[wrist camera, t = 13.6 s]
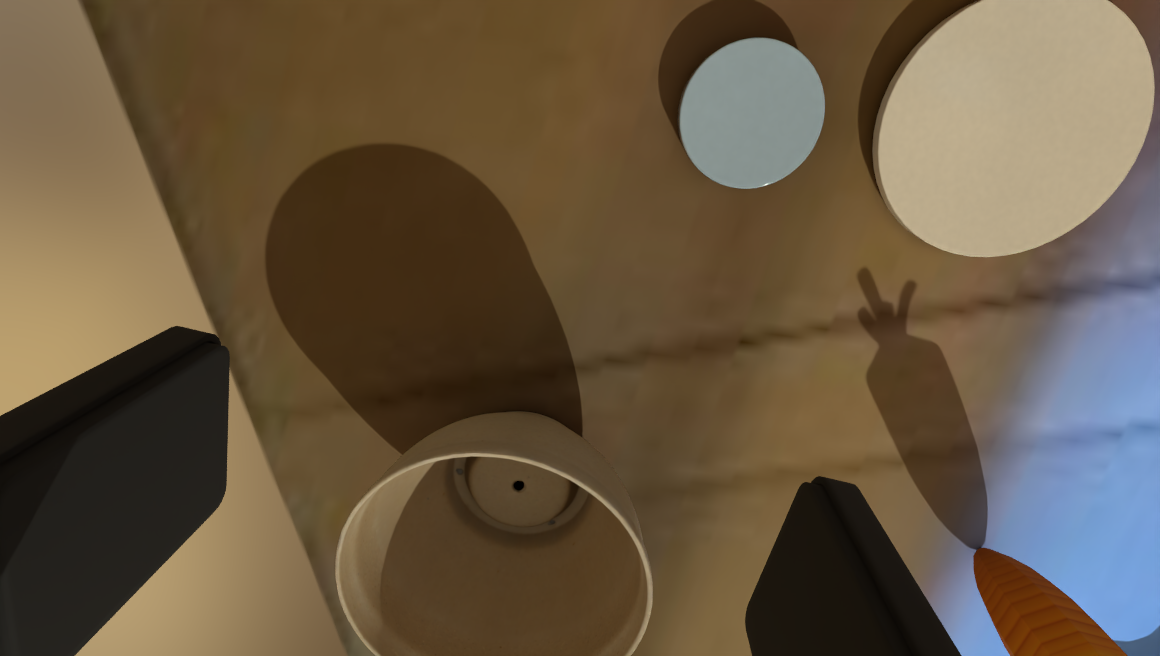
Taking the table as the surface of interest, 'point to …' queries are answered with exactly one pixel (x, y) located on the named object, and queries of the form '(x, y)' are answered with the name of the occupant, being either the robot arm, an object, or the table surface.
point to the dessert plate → (1012, 123)
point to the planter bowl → (496, 547)
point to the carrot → (1035, 611)
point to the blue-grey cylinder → (751, 112)
